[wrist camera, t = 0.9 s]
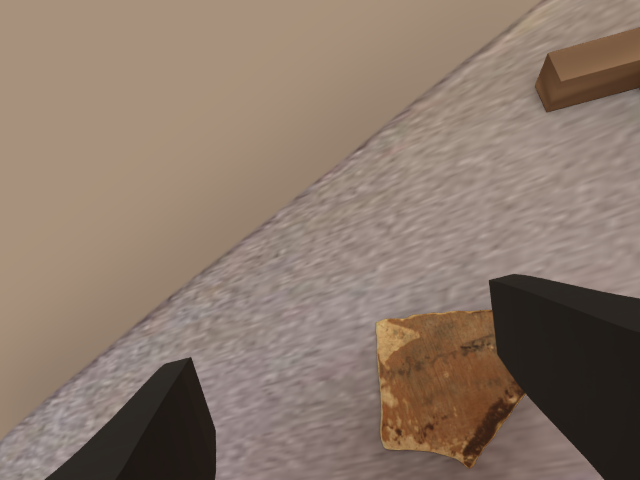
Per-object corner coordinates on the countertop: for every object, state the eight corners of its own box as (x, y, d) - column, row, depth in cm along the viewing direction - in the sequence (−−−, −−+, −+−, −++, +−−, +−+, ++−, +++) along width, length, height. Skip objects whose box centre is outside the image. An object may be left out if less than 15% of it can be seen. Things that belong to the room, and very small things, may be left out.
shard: (577, 310, 26) (589, 303, 24) (607, 466, 24) (622, 470, 22) (375, 319, 28) (373, 313, 26) (383, 465, 25) (381, 469, 24)
